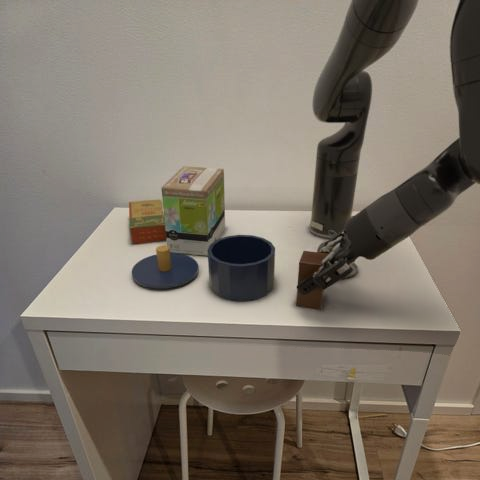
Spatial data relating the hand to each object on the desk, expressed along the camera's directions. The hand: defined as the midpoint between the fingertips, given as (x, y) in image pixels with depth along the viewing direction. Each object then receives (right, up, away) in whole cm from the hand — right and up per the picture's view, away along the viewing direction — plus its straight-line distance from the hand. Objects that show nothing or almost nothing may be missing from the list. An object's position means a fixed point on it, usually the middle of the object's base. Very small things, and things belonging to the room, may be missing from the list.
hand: (303, 278), depth 77 cm
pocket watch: (+8, +2, +11) cm, 14 cm away
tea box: (-21, +11, +24) cm, 34 cm away
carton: (-34, +15, +29) cm, 47 cm away
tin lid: (-27, +3, +11) cm, 29 cm away
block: (+1, -4, +2) cm, 5 cm away
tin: (-11, 0, +8) cm, 13 cm away
